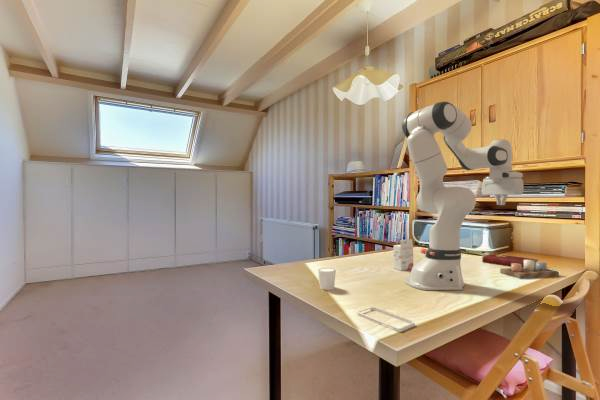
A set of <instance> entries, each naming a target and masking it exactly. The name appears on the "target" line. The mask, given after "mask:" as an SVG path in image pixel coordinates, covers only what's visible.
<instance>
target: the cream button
mask: <svg viewBox="0 0 600 400" xmlns="http://www.w3.org/2000/svg"><path fill="white" fill-rule="evenodd" d="M524 270H525V271H534V261H533V260H524Z"/></svg>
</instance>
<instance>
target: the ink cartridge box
mask: <svg viewBox="0 0 600 400" xmlns="http://www.w3.org/2000/svg"><path fill="white" fill-rule="evenodd" d="M399 242H400V244H393V269H394V270H397V269H398V270H397V271H401V270H402V271H406V270H412V267H413V266H414V244H413V239H412V238H408V239H407V238H406V239H400V241H399Z"/></svg>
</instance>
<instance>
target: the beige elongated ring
mask: <svg viewBox="0 0 600 400" xmlns="http://www.w3.org/2000/svg"><path fill="white" fill-rule="evenodd" d="M367 310H369V311H375V312H378V313H381V314H384V315H386V316H389V317H391V318H395V319H397V320H398V321H402V322H405V323H408V324H405V325H404V326H401V327H396V326H394V325H392V324H389V323H386V322H384V321H382V320H379V319H376V318H374V317H372V316H370V315H366V314H365V313H362V312H364V311H367ZM356 314H357V316H358V317H361V318H363V319H366V320H368V321H370V322H373V323H375V324H378V325H384V326H387V327H389V328H391V329H392V330H393V331H395V332H398V333H401V332H403V331H405V330H408V329H410V328H412V327H415V325H416V322H415V321H413V320H410V319H407V318H405V317H402V316H399V315H396V314H394V313H391V312H389V311H386V310H382V309H380V308H378V307H376V306H371V307H368V308H364V309H362V310H358V311H357V312H356Z"/></svg>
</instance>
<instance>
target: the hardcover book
mask: <svg viewBox="0 0 600 400" xmlns="http://www.w3.org/2000/svg"><path fill="white" fill-rule="evenodd" d="M481 259H482V260H481V262H482V263H484V264H491V265H495V266H503V267H508V268H511V263H518V264H522V267H524V260H533V261H534V267H536V262H539V259H537V258H530V257H525V256H524V257H523V256H515V255H508V254H507V255H506V254H499V253H489V254H484V255H482V257H481Z"/></svg>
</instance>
